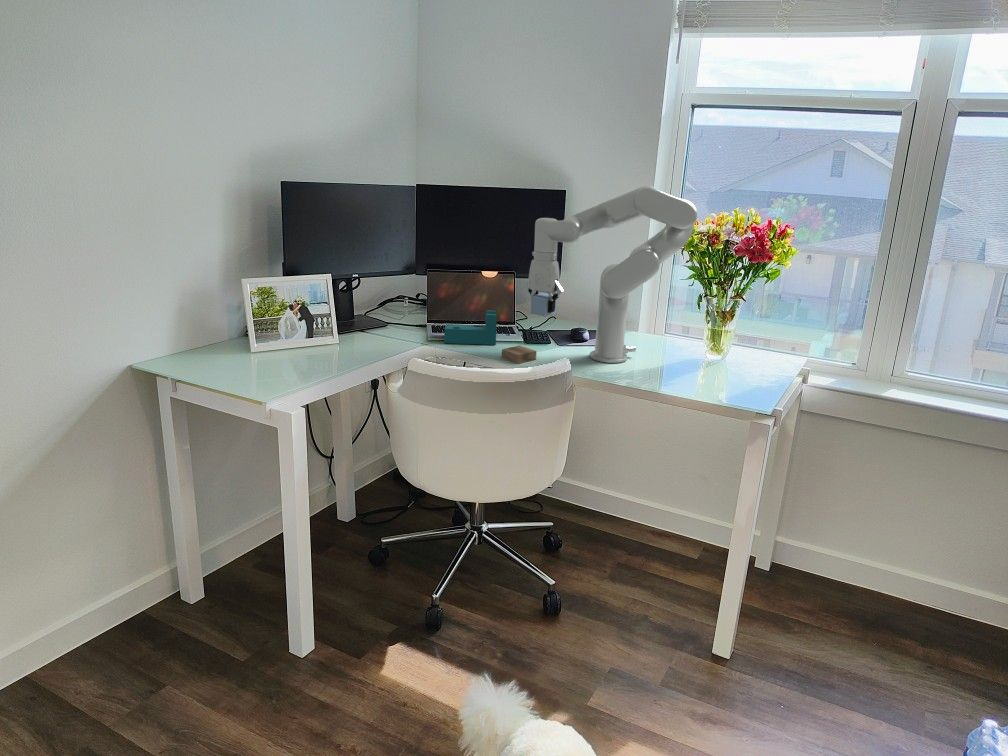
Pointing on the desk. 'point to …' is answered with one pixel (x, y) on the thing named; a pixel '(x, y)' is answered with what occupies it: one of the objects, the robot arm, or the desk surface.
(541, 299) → the blue cube
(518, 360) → the walnut base
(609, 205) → the robot arm
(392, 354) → the desk surface
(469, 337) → the teal l-shaped bracket
